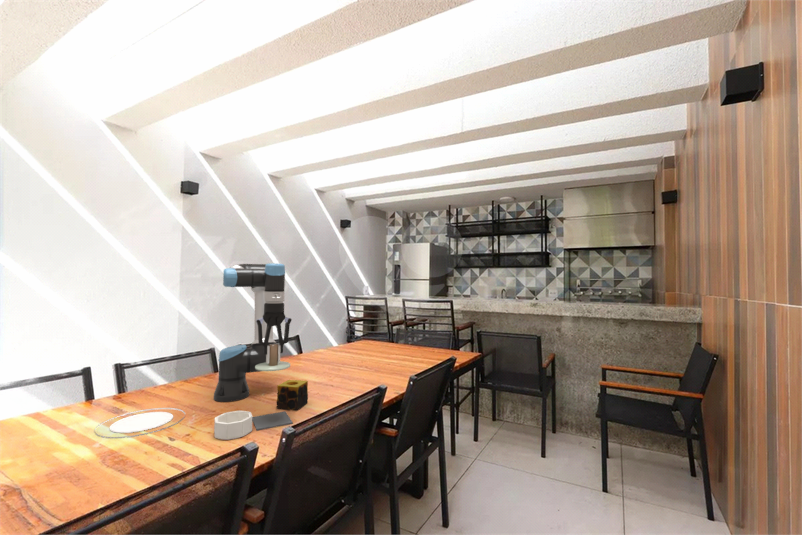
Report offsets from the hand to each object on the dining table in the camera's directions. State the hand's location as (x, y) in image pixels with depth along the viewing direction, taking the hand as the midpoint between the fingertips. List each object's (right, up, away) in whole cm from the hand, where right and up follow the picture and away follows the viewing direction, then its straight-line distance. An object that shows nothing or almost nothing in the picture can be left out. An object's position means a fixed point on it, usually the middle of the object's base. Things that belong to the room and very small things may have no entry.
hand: (273, 362), depth 139 cm
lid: (0, -2, 0) cm, 2 cm away
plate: (-49, -23, -3) cm, 54 cm away
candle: (+3, -24, +16) cm, 29 cm away
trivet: (0, -23, -1) cm, 23 cm away
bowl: (-10, -22, -11) cm, 27 cm away
